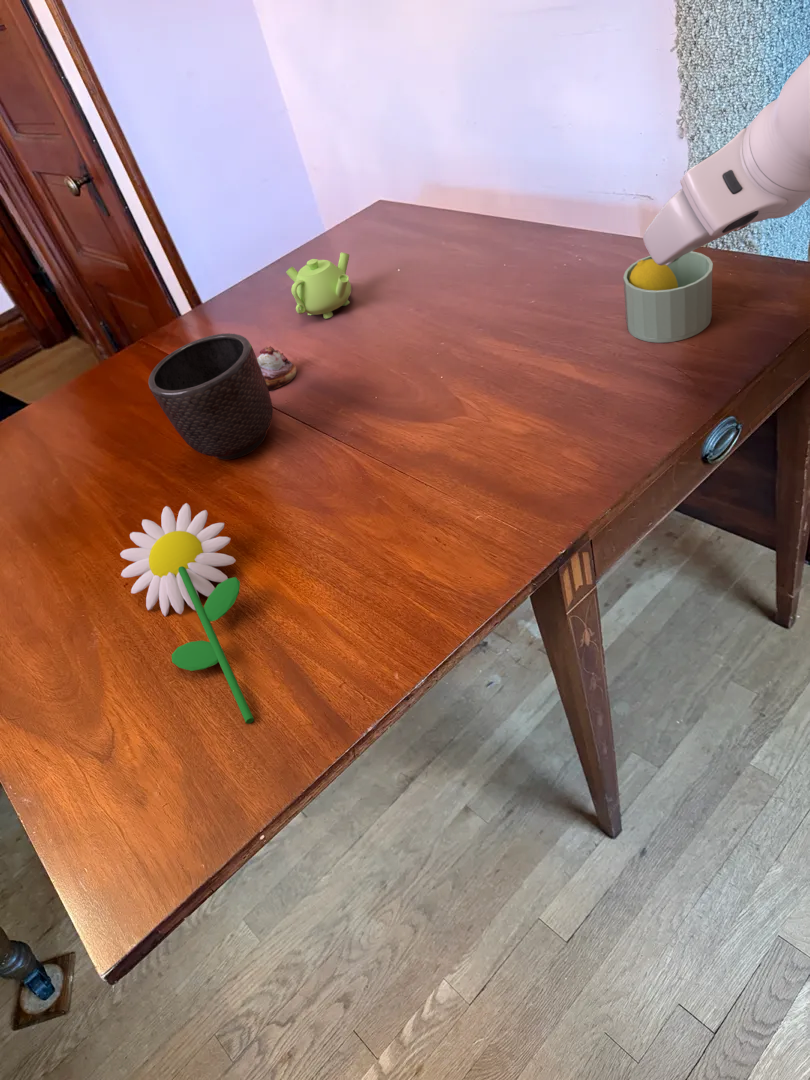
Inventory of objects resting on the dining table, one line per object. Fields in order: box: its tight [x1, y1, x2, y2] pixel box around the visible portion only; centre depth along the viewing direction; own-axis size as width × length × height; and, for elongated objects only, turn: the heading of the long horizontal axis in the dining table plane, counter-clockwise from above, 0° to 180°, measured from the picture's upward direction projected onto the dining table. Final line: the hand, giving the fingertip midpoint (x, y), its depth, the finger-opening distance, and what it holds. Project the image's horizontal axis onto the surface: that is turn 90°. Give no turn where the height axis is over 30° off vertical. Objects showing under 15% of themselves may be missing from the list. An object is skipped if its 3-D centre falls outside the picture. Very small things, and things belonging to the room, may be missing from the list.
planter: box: [147, 332, 274, 461], centre depth 99 cm, size 14×14×13 cm
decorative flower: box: [119, 502, 255, 725], centre depth 78 cm, size 13×5×30 cm
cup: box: [622, 250, 714, 344], centre depth 95 cm, size 10×10×7 cm
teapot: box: [285, 252, 352, 320], centre depth 124 cm, size 11×12×8 cm
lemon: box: [629, 259, 678, 291], centre depth 95 cm, size 6×6×8 cm
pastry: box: [256, 345, 297, 391], centre depth 112 cm, size 8×8×5 cm
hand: (702, 240), depth 84 cm, fingers open, 8 cm apart
